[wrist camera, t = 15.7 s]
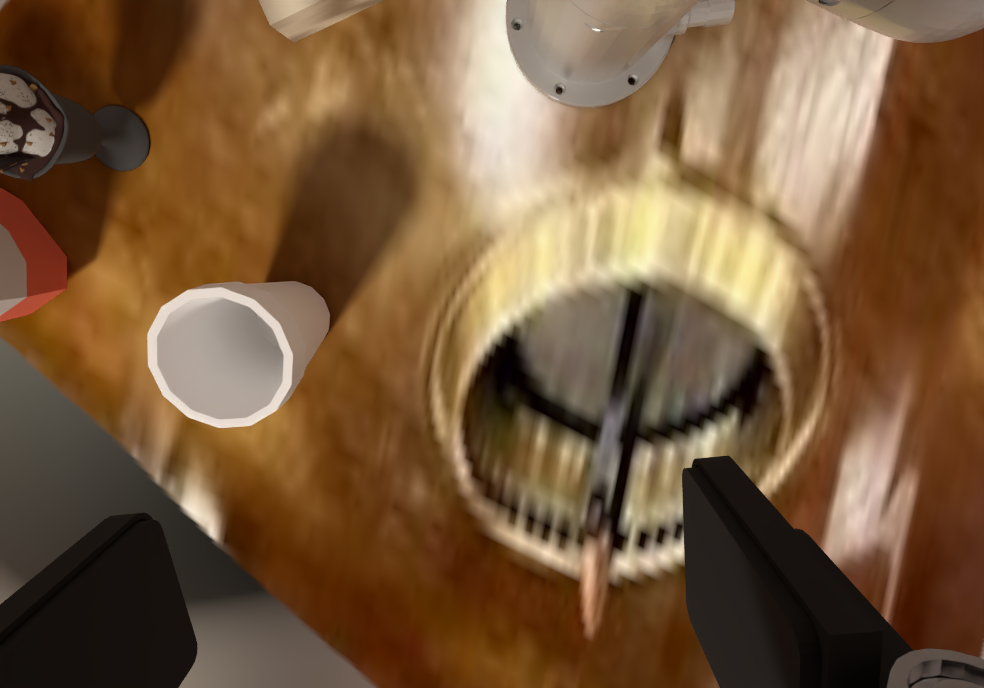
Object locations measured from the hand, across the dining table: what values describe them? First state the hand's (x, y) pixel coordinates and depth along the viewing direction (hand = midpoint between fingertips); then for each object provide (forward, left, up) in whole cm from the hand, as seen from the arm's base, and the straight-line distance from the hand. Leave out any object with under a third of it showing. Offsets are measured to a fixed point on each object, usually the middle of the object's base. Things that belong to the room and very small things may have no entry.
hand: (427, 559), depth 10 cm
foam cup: (+17, +2, -38) cm, 42 cm away
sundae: (+28, -14, -38) cm, 50 cm away
